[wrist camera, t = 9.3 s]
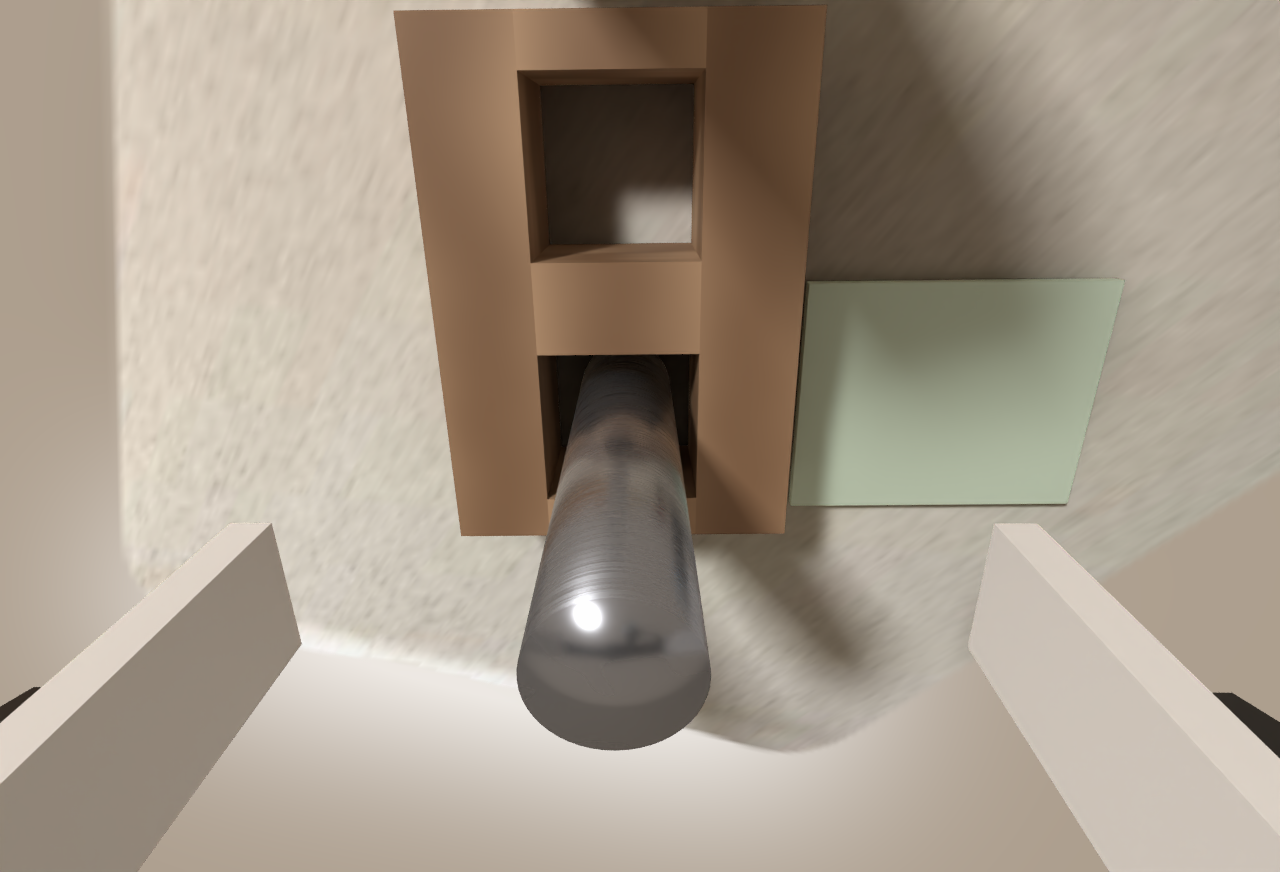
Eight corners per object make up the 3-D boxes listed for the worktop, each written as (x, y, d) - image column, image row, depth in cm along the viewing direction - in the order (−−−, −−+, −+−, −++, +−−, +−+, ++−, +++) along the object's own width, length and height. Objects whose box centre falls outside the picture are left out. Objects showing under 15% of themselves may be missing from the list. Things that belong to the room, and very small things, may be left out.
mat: (1117, 278, 22) (1125, 280, 22) (1061, 498, 25) (1067, 503, 25) (806, 281, 22) (809, 283, 22) (788, 500, 25) (790, 505, 25)
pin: (670, 342, 23) (714, 597, 10) (669, 425, 24) (707, 749, 11) (580, 343, 23) (509, 599, 10) (584, 426, 24) (524, 751, 11)
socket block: (792, 32, 19) (827, 4, 16) (763, 476, 25) (784, 533, 21) (440, 37, 19) (393, 10, 16) (488, 478, 25) (461, 536, 21)
